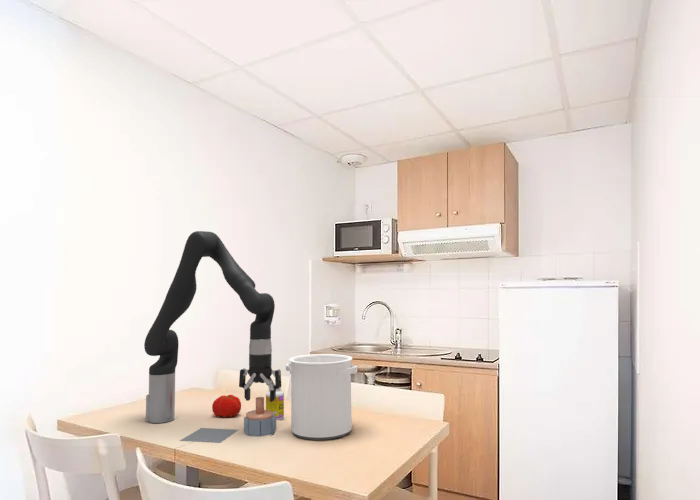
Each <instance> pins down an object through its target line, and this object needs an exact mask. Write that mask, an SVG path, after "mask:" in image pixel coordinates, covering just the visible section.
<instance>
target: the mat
mask: <svg viewBox="0 0 700 500" xmlns="http://www.w3.org/2000/svg"><path fill="white" fill-rule="evenodd" d="M238 431H239V429H234V428H233V429H231V428H214V427H213V428H212V427H211V428H210V427H200V428H199V429H197V430H195V431H193V432H191V433H190V434H188V435H187V436H185V437H183V438H182V439H180V440H179V442H196V443H197V442H198V443H216V444H221V443H223V442H224V441H226V439H228V438H230V437H231V436H232V435H234V434H236V432H238Z"/></svg>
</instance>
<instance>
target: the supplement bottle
mask: <svg viewBox="0 0 700 500" xmlns="http://www.w3.org/2000/svg"><path fill="white" fill-rule="evenodd" d="M274 384H275V382H274ZM281 389H282V386H281V387H280V388H278V389H276V398H275V400H274V401H273V402H270V390H271V389H270V388H269V387H268V390H267V391H266V393H265V410H271V411H273V414H274V415H276V421H283V419H284V417H285V402H284V401H285V394H284V391H283V390H281Z"/></svg>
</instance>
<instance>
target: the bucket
mask: <svg viewBox="0 0 700 500" xmlns="http://www.w3.org/2000/svg"><path fill="white" fill-rule="evenodd" d="M288 361H289V363H286V364H285V371H287V372H289V374H290V375H291V379H290V381H291V387H290V388H291V389H290V392H291V393H290V394H291V395H290V397H291V398H290V399H291V401H290V403H291V408H290V409H291V410H290V411H291V412H290V414H291V416H290V419H291V433H292V434H293V435H294V436H295V437H297V438H300V439H303V440H308V441H309V440H310V441H329V440H335V439H339V438H342V437H346V436H347V435H348V434H350V432H351V431H352V374H353V375H354V374H356V373H358V365H353V364H352V361H353V357H352V356H351V355H347V354H337V353H316V354H315V353H313V354H303V355H302V354H301V355H296V356H293V357H290V358H289V360H288Z"/></svg>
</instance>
